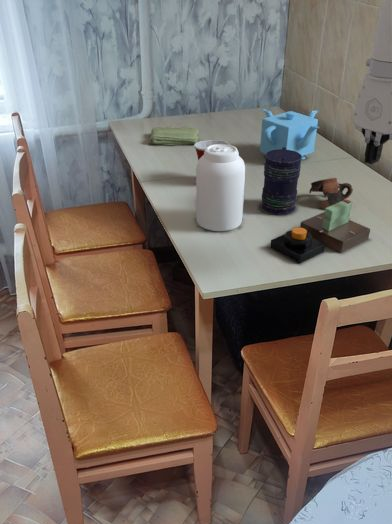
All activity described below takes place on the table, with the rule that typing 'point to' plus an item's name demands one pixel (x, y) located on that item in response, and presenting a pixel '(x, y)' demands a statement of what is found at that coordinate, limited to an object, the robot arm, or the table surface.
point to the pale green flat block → (337, 215)
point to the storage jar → (280, 181)
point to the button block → (297, 247)
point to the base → (336, 233)
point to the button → (299, 233)
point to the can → (220, 188)
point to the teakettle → (289, 132)
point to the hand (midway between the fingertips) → (371, 161)
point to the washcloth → (174, 135)
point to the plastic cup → (202, 145)
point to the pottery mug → (331, 191)
